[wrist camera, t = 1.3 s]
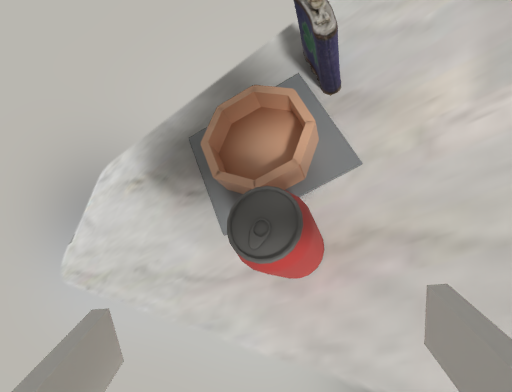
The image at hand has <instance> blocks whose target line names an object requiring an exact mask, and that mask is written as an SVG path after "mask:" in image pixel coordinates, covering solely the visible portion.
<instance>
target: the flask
mask: <svg viewBox="0 0 512 392" xmlns="http://www.w3.org/2000/svg"><path fill="white" fill-rule="evenodd" d="M294 3H295V8H296V13H297V18H298V23H299V29H300V34H301V40H302V46H303V53H304V56H305V58H306V61H307V62H309V64H310V65H311V69H312V72H313V73H314V74H315V75H317V77H318V78H317V80H319V81H320V86H321V89H322V90H323V93H325V94H329V95H330V96H331V95H332V94H334V93H337V92H338V91H339V90H340V88H341V80H340V71H339V51H338V27H337V21H336V18H335V15H334V12H333V9H332V7H331V5H330V4H329V1H327V0H294Z"/></svg>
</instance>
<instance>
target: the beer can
mask: <svg viewBox="0 0 512 392" xmlns="http://www.w3.org/2000/svg"><path fill="white" fill-rule="evenodd" d="M227 235H228V238H229V242H230V244H231V246H232V247H233V249H234V250H235V251H236V253H237V254H238V256H239V257H240V259H241V260H242V261H243V262H244V263H245V264H247V265H248V266H249V267H251V268H252V269H253V270H257V271H260V272H263V273H266V274H271V275H276V276H281V277H285V278H302V277H304V276H307V275H309V274H310V273H312V272H313V271H314V270H315V269H316V268H317V267H318V265H319V264H320V262H321V260H322V258H323V253H324V243H323V238H322V236H321V234H320V232H319V229H318V227H317V225H316V223H315V221H314V219H313V217H312V215H311V213H310V210H309V208H308V206H307V205H306V204H305V203H304V202H303V201H302V200H301V199H300V198H299V197H297V196H296V195H294V194H292V193H290V192H288V191H286V190H283V189H281V188H279V187H273V186H262V187H256V188H254V189H251V190H249V191H247V192H245V193H244V194H243V195H242V196H241V197H240V198H238V199H237V201H236V202H235V204H234V205H233V207H232V208H231V210H230V213H229V216H228V219H227Z"/></svg>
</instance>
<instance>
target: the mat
mask: <svg viewBox="0 0 512 392" xmlns="http://www.w3.org/2000/svg"><path fill="white" fill-rule="evenodd" d="M276 87H282V88H292V89H295V91H296V92H297V94H298V95H299V97H300V98H301V100H302V101H303V103H304V104H305V106H306V107H307V109H308V110H309V112H310V113H311V115H312V116H313V118H314V119H315V121H316V127H317V132H318V137H319V141H318V144H317V147H316V149H315V152H314V155H313V158H312V161H311V164H310V166H309V169H308V172H307V175H306V178H304V180H302V181H300V182H299V183H297V184H295V185H293V186H291V187H289V188H287V189H285V190H286V191H288V192H290V193H292V194H294V195H296V196H297V197H300V196H302V195H304V194H306V193H308V192H310V191H312V190H314V189H316V188H318V187H320V186H321V185H323V184H325V183H327V182H329V181H331V180H333V179H335V178H337V177H339V176H341V175H343V174H345V173H347V172H348V171H350V170H352V169H354V168H356V167H358V166H360V165H362V162H361V161H360V159H359V158H358V156H357V155H356V154H355V152H354V151H353V149H352V148H351V146H350V145H349V144H348V142H347V141H346V139H345V138H344V137H343V135H342V134H341V132H340V131H339V129H338V128H337V127H336V125H335V124H334V122H333V121H332V120H331V118H330V117H329V115H328V114H327V112H326V111H325V110H324V108H323V107H322V105H321V104H320V103H319V101H318V100H317V98H316V97H315V95H314V94H313V93H312V91H311V90H310V88H309V87H308V86H307V84H306V83H305V81H304V80H303V79H302V77H301V76H300V74H299V73H298V74H296V75H295V76H293V77H291V78H289V79H288V80H286V81H284V82H283V83H281V84H279V85H278V86H276ZM206 130H207V127H206V128H205V129H203V130H201V131H200V132H198V133H196V134H195V135H193V136H191V137H189V141H190V144H191V146H192V149H193V152H194V155H195V157H196V160H197V163H198V166H199V169H200V171H201V174H202V177H203V180H204V182H205V185H206V188H207V191H208V194H209V196H210V199H211V202H212V205H213V207H214V210H215V213H216V216H217V219H218V221H219V224H220V227H221V230H222V232H223V235H227V219H228V216H229V213H230V210H231V208H232V207H233V205H234V204H235V202H236V201H237V199H238V198H240V197H241V196H242V195H243V194H241V193H237V192H234V191H231V190H227V189H226V188H225V187H224V186H223V185H221V184H220V183H219V182H218V181H217V180H216V179H214V178H213V176H212V173H211V171H210V168H209V165H208V163H207V160H206V157H205V155H204V152H203V150H202V147H201V141H202V138H203V136H204V134H205V132H206Z"/></svg>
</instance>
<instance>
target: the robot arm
mask: <svg viewBox="0 0 512 392" xmlns="http://www.w3.org/2000/svg"><path fill="white" fill-rule="evenodd" d="M424 344H425V345H426V347H427V348H428V349H429V351H430V352H431V353H432V355H433V356H434V358H435V359H436V360H437V362H438V363H439V364H440V366H441V367H442V369H443V370H444V371H445V373H446V374H447V375H448V377H449V378H450V380H451V381H452V382H453V384H454V385H455V386H456V388H457V389H458V391H459V392H512V339H511V338H510V337H509V336H507V335H506V334H505V333H504V332H503V331H502V330H500V329H499V328H498V327H497V326H496V325H495V324H493V323H492V322H491V321H490V320H489V319H488V318H486V317H485V316H484V315H483V314H482V313H481V312H479V311H478V310H477V309H476V308H475V307H474V306H472V305H471V304H470V303H469V302H468V301H467V300H466V299H464V298H463V297H462V296H461V295H460V294H459V293H457V292H456V291H455V290H454V289H453V288H452V287H450V286H449V285H448V284H438V285H427V296H426V318H425V340H424ZM123 362H124V359H123V356H122V353H121V349H120V346H119V342H118V339H117V335H116V332H115V328H114V325H113V321H112V318H111V314H110V311H109V309H95V310H91V311H90V312H89V313H88V314H87V315H86V316H85V317H84V318H83V320H82V321H80V323H79V324H78V325H77V326H76V327H75V328H74V329H73V330H72V331H71V332H70V333H69V334H68V335H67V336H66V337H65V338H64V339H63V340H62V341H61V342H60V343H59V344H58V345H57V346H56V347H55V348H54V349H53V350H52V351H51V352H50V353H49V354H48V355H47V356H46V357H45V358H44V359H43V360H42V361H41V362H40V363H39V364H38V365H37V366H36V367H35V368H34V370H32V371H31V372H30V374H28V376H27V377H26V378H25V379H24V380H23V381H22V382H21V383H20V384H19V385H18V386H17V387H16V388H15V389H14V390H13V391H12V392H105V390H106V389H107V387H108V386H109V384H110V382H111V381H112V379H113V377H114V376H115V374H116V373H117V371H118V370H119V368H120V366H121V365H122V363H123Z"/></svg>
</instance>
